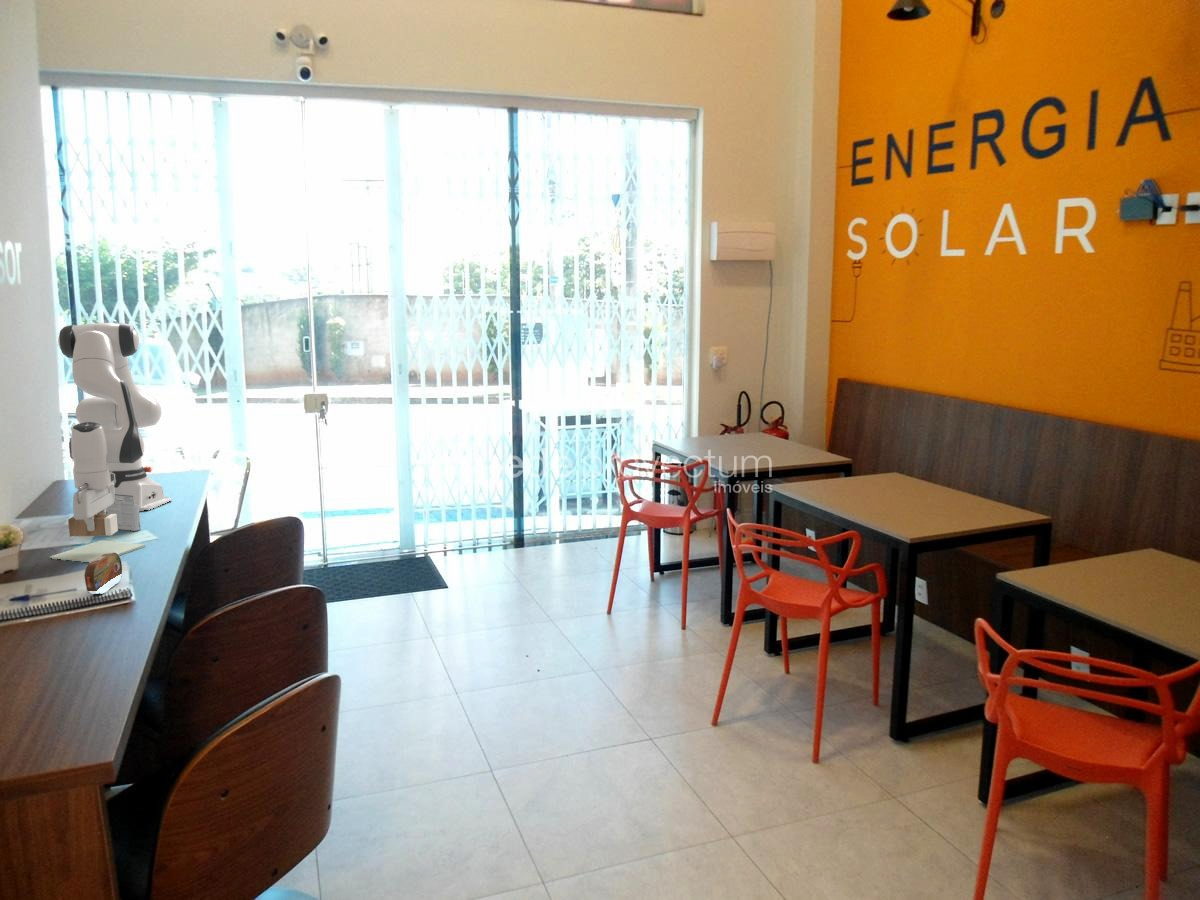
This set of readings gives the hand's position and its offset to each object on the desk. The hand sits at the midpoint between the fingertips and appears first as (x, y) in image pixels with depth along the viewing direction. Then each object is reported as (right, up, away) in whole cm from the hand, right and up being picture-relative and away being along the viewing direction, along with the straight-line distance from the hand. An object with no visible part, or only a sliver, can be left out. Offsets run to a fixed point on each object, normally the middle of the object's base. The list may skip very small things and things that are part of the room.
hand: (96, 527), depth 256 cm
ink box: (-6, -3, +27) cm, 28 cm away
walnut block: (-6, +1, -1) cm, 6 cm away
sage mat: (0, -7, +1) cm, 7 cm away
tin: (+19, -13, -30) cm, 38 cm away
